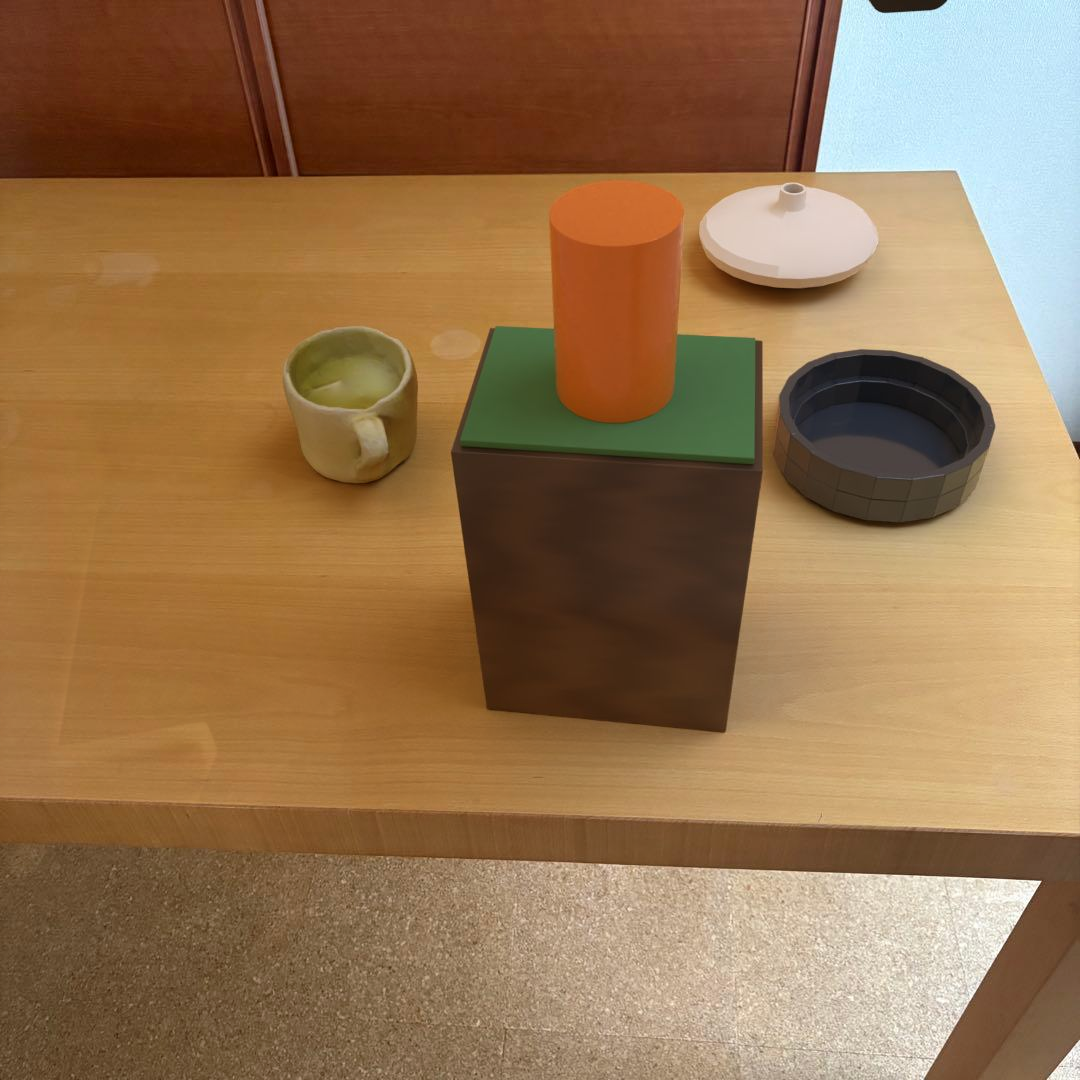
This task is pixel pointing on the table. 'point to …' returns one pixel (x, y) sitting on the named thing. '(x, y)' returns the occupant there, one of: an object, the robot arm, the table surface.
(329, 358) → the mug
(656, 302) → the orange can
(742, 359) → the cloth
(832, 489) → the pot
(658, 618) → the stand
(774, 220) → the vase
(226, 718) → the table surface
